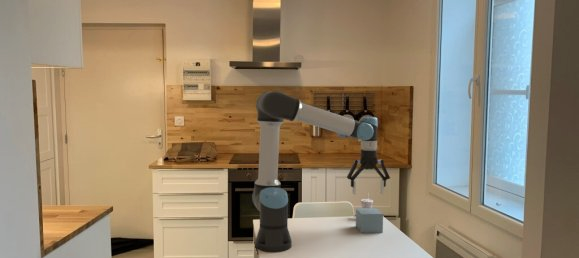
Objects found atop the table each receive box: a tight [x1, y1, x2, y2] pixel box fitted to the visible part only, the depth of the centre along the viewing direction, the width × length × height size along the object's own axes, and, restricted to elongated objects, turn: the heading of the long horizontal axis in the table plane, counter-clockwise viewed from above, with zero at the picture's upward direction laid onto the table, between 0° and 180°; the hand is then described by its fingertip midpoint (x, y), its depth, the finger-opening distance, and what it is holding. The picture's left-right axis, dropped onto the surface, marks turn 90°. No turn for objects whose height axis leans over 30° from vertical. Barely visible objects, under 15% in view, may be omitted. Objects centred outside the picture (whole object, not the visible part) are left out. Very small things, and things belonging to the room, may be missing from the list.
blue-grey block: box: [355, 207, 384, 234], centre depth 195 cm, size 10×10×9 cm
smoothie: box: [360, 191, 374, 208], centre depth 213 cm, size 6×6×14 cm
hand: (368, 193), depth 196 cm, fingers open, 13 cm apart
